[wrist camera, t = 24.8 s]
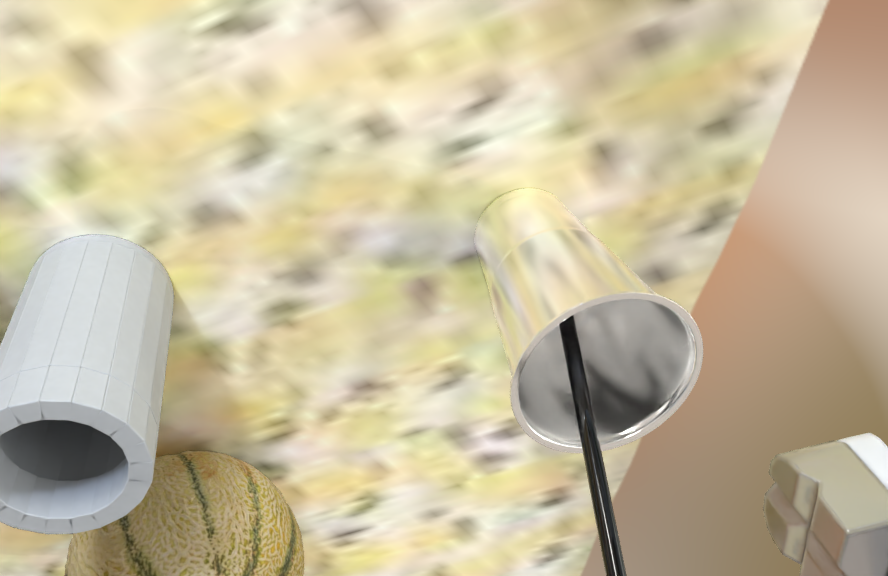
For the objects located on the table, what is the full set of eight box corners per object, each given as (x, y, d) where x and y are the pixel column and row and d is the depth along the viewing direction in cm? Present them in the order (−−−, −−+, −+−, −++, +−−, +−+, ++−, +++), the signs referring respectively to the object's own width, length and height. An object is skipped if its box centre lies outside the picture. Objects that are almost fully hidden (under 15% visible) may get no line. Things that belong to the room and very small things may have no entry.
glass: (470, 336, 57) (647, 776, 32) (411, 206, 51) (574, 630, 26) (614, 274, 57) (902, 671, 32) (573, 135, 50) (893, 497, 26)
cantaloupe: (49, 526, 58) (-2, 731, 46) (136, 377, 53) (106, 564, 41) (240, 573, 65) (241, 764, 53) (334, 445, 60) (359, 624, 48)
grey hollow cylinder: (5, 249, 47) (-79, 424, 34) (151, 222, 48) (121, 383, 35) (56, 360, 51) (-1, 550, 39) (189, 334, 52) (174, 512, 40)
